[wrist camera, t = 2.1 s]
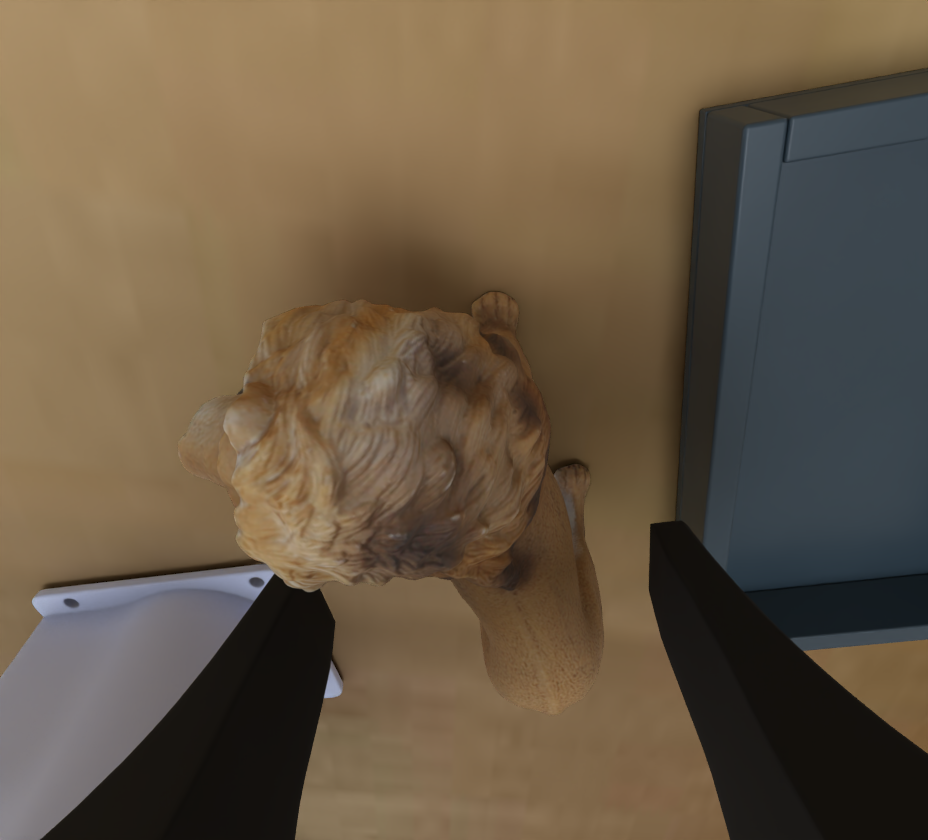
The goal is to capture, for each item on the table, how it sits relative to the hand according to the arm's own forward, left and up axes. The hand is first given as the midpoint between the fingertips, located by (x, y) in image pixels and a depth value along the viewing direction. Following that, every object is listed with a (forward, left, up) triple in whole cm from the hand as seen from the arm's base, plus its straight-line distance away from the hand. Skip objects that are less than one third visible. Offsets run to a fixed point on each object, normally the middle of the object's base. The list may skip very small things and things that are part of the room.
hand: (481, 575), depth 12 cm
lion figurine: (0, 0, -6) cm, 6 cm away
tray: (+11, -1, -6) cm, 12 cm away
